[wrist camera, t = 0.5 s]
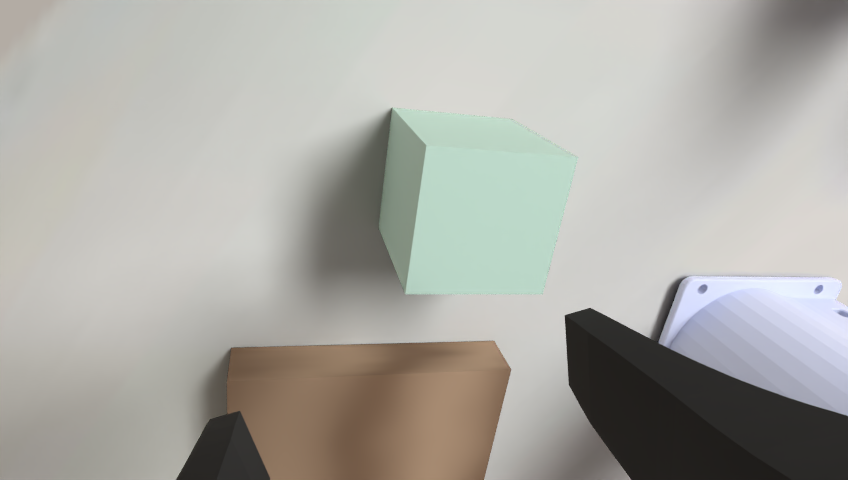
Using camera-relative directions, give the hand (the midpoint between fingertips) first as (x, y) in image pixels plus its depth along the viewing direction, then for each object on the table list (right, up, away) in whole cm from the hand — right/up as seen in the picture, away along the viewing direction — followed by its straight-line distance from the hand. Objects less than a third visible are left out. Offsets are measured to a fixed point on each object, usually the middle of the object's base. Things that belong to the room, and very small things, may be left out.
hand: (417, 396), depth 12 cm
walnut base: (-3, -6, +13) cm, 14 cm away
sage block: (+1, +6, +8) cm, 10 cm away
